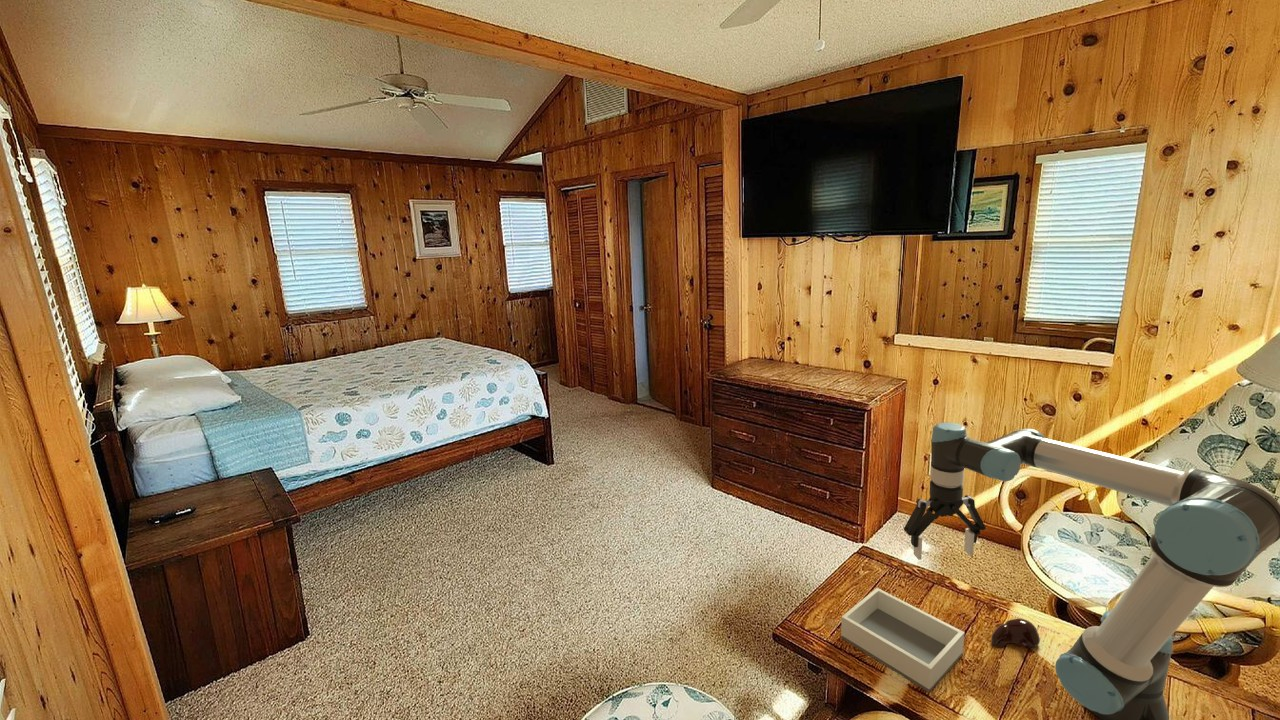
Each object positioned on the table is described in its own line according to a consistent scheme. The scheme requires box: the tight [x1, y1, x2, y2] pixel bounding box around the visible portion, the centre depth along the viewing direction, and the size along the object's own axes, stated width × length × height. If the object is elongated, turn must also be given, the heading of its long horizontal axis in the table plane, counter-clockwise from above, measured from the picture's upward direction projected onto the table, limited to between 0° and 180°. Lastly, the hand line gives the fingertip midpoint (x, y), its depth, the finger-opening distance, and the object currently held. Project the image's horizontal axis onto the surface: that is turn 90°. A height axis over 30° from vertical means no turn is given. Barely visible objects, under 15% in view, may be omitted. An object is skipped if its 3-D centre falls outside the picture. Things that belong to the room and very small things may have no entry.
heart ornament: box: [991, 618, 1041, 649], centre depth 145 cm, size 6×12×11 cm
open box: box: [840, 587, 966, 694], centre depth 145 cm, size 24×18×7 cm
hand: (943, 555), depth 144 cm, fingers open, 13 cm apart
